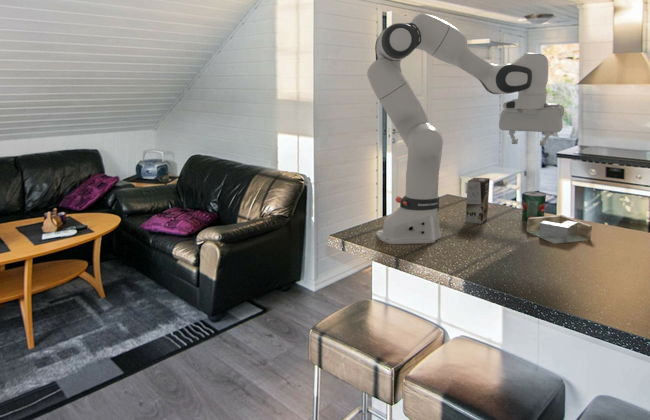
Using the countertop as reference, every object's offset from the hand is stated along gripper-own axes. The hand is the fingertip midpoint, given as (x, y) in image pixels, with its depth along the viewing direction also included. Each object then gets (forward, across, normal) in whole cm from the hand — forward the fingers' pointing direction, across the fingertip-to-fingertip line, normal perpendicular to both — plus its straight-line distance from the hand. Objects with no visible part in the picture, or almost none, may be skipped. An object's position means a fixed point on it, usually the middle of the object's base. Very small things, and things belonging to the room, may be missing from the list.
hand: (528, 144), depth 176 cm
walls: (+31, -11, -3) cm, 33 cm away
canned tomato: (+31, +2, -16) cm, 35 cm away
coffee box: (+31, +19, -6) cm, 37 cm away
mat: (+31, -11, -3) cm, 33 cm away
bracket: (+31, -12, 0) cm, 33 cm away
